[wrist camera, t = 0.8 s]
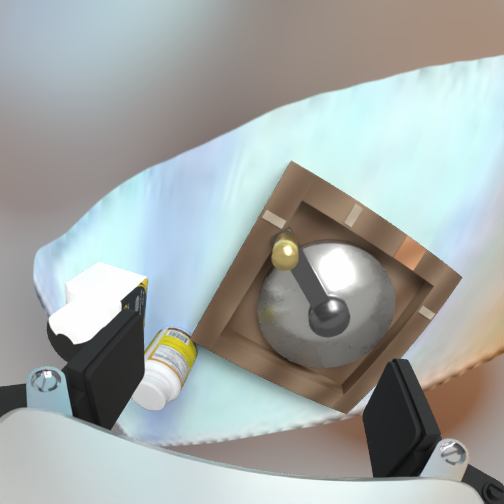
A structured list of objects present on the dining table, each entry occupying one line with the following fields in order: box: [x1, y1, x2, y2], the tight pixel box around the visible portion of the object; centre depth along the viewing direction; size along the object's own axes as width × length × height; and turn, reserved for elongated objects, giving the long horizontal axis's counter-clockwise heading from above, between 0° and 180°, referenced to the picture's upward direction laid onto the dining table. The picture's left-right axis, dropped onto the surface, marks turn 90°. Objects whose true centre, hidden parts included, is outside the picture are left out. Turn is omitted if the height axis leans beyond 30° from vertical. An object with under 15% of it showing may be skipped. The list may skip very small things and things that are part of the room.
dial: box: [257, 227, 395, 368], centre depth 28 cm, size 16×14×7 cm
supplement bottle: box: [132, 327, 198, 411], centre depth 32 cm, size 6×6×10 cm
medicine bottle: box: [47, 262, 148, 363], centre depth 30 cm, size 7×7×12 cm
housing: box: [190, 161, 462, 414], centre depth 31 cm, size 21×21×3 cm
